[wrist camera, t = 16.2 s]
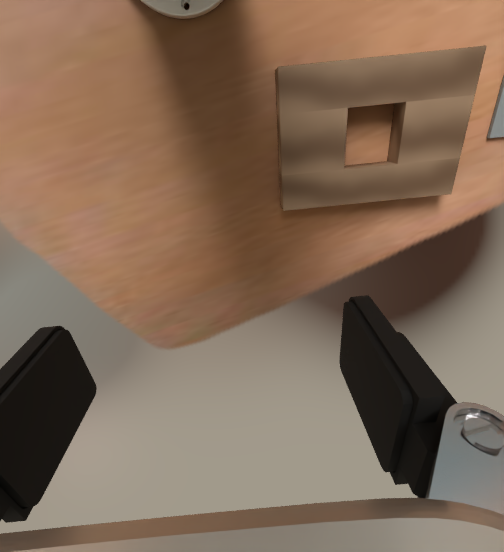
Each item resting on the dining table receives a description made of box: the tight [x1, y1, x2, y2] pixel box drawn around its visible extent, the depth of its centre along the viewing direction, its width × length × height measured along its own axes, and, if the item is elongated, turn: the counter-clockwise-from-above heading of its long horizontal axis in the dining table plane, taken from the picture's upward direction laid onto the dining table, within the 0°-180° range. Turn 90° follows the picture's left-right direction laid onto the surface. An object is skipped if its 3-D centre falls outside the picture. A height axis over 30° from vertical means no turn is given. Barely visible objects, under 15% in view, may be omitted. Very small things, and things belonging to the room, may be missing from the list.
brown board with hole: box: [275, 46, 486, 211], centre depth 32 cm, size 14×20×2 cm
